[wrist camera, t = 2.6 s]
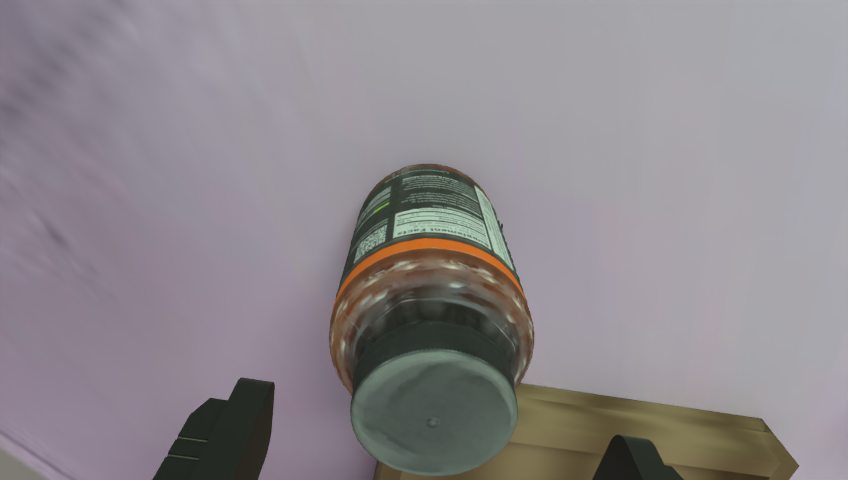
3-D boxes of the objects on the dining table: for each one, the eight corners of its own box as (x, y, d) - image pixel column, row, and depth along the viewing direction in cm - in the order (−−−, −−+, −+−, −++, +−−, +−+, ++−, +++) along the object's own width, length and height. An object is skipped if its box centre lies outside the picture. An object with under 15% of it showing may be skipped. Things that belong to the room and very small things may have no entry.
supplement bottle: (463, 298, 23) (493, 530, 13) (342, 258, 23) (276, 475, 12) (519, 187, 21) (608, 368, 11) (386, 137, 20) (348, 284, 10)
